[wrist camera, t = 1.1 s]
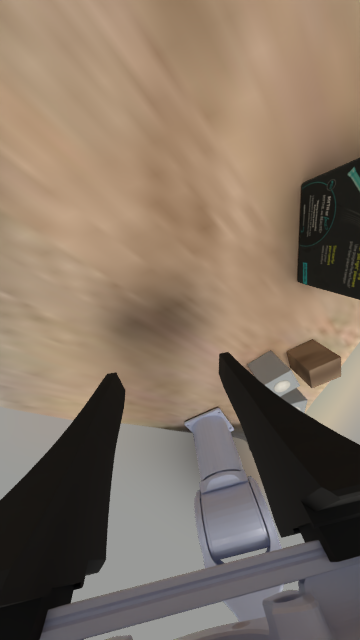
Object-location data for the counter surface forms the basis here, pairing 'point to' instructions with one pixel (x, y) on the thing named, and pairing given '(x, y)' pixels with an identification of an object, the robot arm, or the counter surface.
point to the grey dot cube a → (273, 373)
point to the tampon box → (331, 231)
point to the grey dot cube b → (295, 399)
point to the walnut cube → (314, 363)
